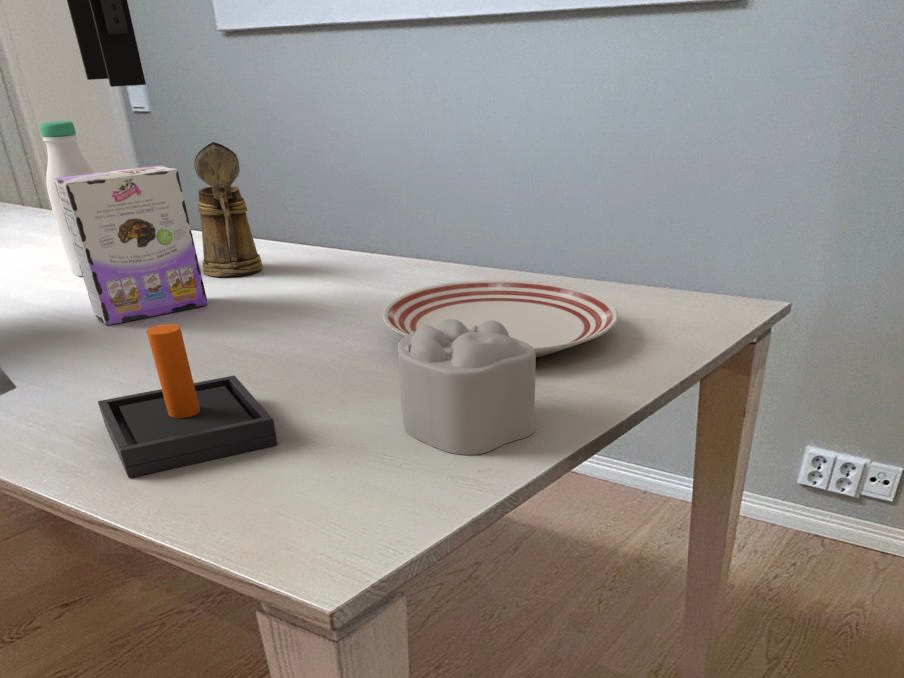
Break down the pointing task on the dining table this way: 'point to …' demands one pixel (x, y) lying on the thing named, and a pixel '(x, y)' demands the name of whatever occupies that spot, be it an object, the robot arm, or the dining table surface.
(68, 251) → the milk bottle
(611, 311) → the dinner plate
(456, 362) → the lumpy-topped squat cylinder
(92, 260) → the candy box
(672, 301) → the dining table surface
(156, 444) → the shallow rectangular tray
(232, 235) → the wooden mug
